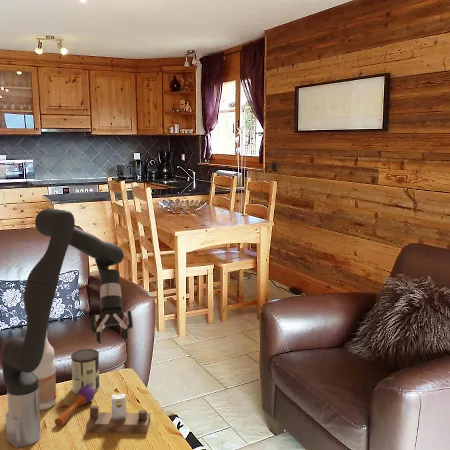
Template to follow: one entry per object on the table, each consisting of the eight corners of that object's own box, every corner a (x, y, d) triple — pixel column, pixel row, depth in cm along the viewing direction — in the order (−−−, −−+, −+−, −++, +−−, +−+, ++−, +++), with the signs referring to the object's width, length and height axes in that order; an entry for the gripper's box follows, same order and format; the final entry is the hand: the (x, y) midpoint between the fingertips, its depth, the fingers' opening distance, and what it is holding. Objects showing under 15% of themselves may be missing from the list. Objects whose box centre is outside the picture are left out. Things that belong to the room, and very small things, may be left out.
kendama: (49, 414, 166) (81, 383, 185) (53, 430, 167) (85, 397, 186) (64, 414, 164) (95, 382, 183) (68, 430, 165) (98, 397, 184)
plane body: (86, 432, 163) (85, 412, 162) (91, 420, 170) (91, 401, 169) (147, 433, 163) (147, 413, 162) (150, 421, 170) (150, 402, 169)
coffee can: (86, 379, 198) (85, 346, 196) (105, 386, 193) (104, 352, 191) (66, 390, 190) (65, 355, 187) (85, 397, 184) (84, 362, 182)
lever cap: (112, 422, 164) (112, 399, 162) (112, 416, 167) (111, 394, 166) (125, 420, 165) (125, 398, 163) (125, 415, 168) (125, 393, 167)
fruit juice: (46, 412, 174) (44, 337, 169) (23, 408, 176) (19, 334, 171) (61, 399, 183) (59, 327, 178) (39, 395, 185) (36, 324, 180)
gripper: (89, 296, 175) (90, 341, 167) (130, 292, 177) (133, 337, 170) (91, 303, 181) (92, 347, 174) (131, 299, 184) (134, 342, 176)
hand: (112, 342), depth 172 cm, fingers open, 8 cm apart
